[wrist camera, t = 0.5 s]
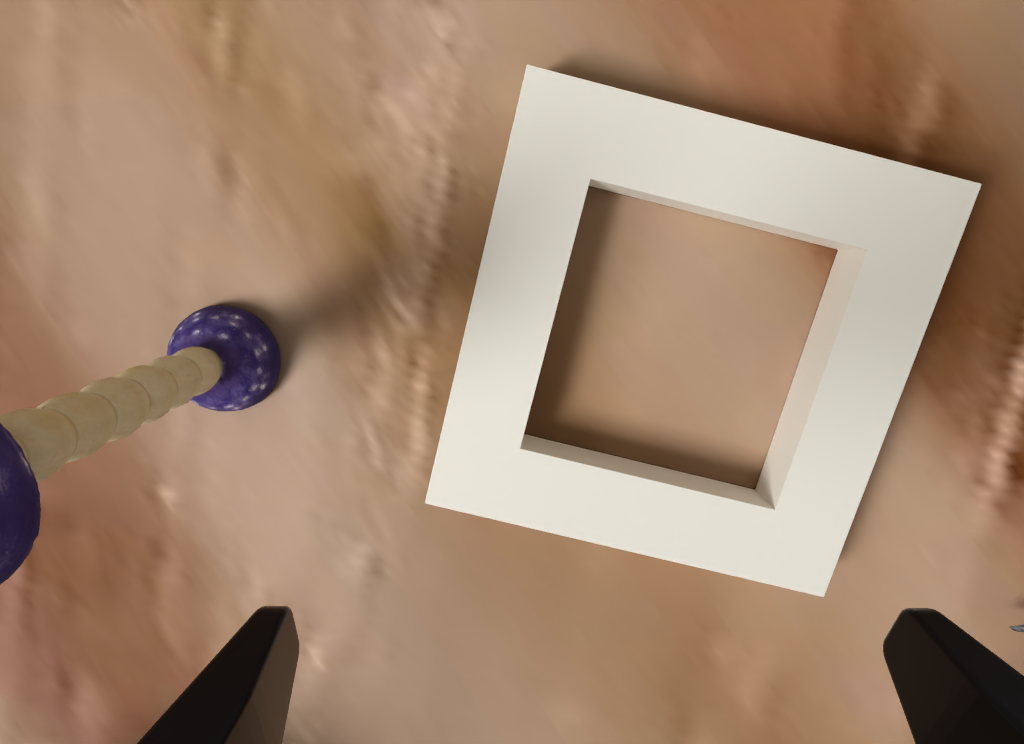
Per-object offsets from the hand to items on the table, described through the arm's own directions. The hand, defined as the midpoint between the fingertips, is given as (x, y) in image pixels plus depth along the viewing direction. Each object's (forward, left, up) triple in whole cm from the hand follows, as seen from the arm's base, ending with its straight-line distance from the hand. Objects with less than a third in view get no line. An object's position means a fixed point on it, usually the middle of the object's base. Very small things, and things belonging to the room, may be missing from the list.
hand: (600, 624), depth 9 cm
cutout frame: (+5, -2, -16) cm, 17 cm away
